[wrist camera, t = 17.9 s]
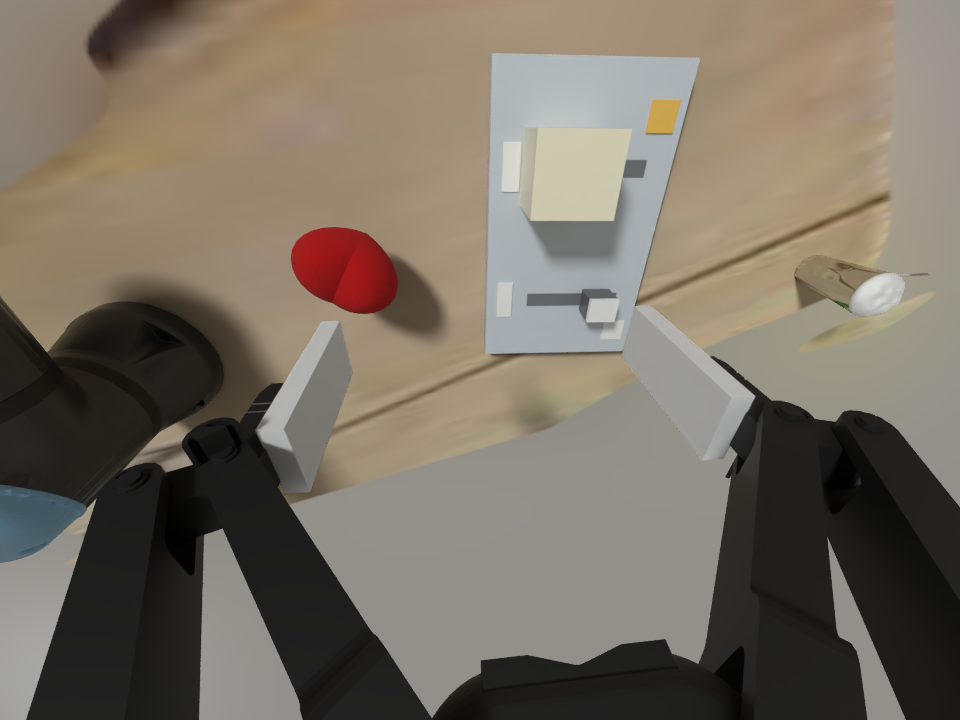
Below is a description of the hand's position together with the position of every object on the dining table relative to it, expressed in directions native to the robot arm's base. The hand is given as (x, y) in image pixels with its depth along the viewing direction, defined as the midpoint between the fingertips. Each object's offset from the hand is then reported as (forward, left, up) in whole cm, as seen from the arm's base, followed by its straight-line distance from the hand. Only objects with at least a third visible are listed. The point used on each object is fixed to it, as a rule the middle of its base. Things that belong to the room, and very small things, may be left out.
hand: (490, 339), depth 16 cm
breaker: (+14, -8, -23) cm, 28 cm away
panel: (+10, -1, -25) cm, 27 cm away
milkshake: (+40, -5, -25) cm, 47 cm away
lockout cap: (+8, +5, -23) cm, 25 cm away
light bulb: (-11, -3, -25) cm, 28 cm away
